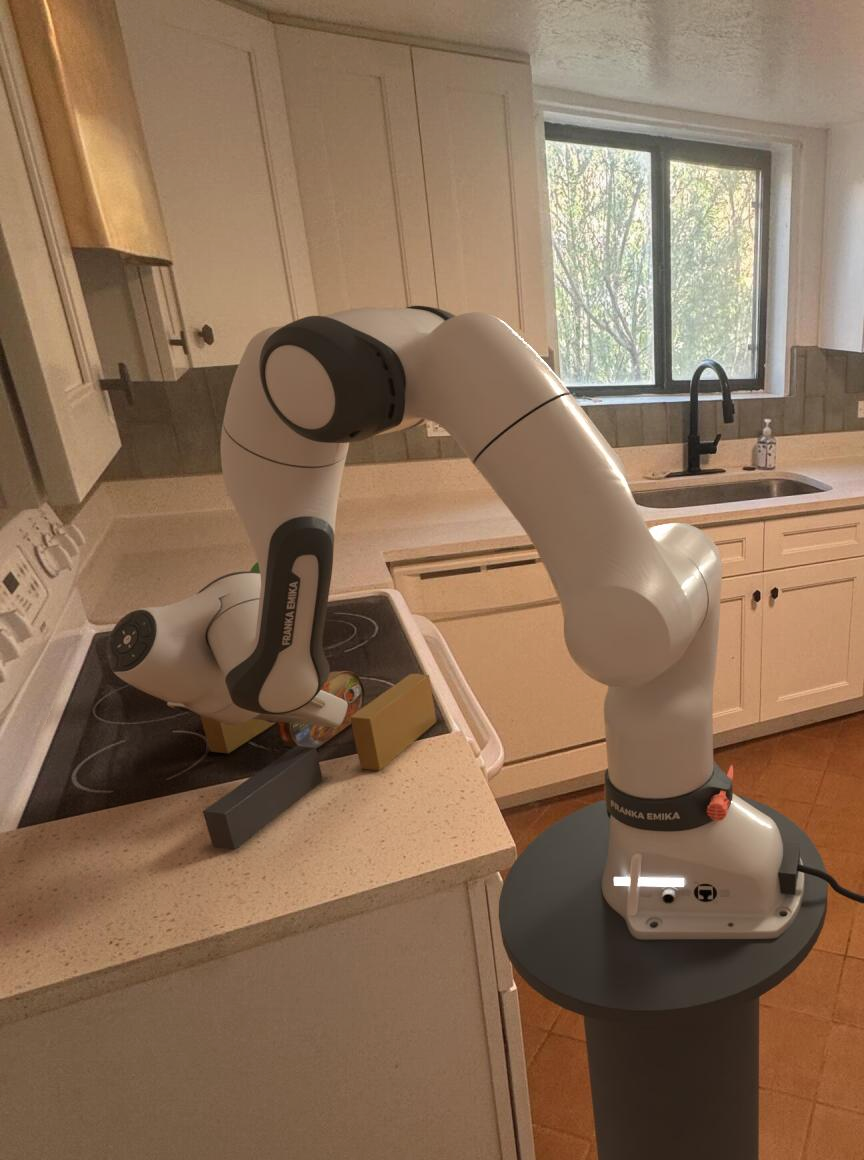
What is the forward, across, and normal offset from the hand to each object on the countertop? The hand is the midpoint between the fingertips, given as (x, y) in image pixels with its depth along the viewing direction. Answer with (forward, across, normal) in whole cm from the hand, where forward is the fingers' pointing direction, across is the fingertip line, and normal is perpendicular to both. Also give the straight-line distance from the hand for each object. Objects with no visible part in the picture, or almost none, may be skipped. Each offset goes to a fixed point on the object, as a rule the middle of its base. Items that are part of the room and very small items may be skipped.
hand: (305, 719), depth 111 cm
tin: (+6, 0, 0) cm, 6 cm away
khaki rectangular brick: (+6, -12, +1) cm, 13 cm away
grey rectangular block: (-7, -6, +14) cm, 16 cm away
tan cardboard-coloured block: (+6, +12, +1) cm, 13 cm away
